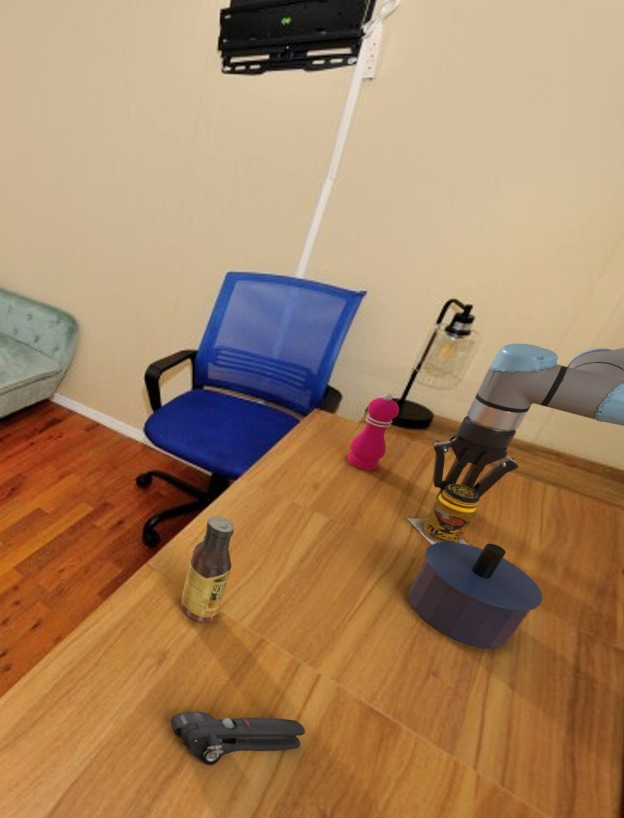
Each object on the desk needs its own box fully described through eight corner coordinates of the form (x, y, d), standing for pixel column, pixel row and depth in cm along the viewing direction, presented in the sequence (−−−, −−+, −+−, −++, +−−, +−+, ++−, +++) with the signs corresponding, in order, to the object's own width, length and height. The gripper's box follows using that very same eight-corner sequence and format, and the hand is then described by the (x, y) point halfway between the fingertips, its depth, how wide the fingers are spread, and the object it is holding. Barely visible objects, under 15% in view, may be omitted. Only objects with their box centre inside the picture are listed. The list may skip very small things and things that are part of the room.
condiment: (433, 547, 103) (457, 501, 98) (406, 518, 111) (426, 474, 105) (471, 548, 103) (498, 502, 97) (441, 520, 110) (464, 475, 105)
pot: (505, 608, 90) (531, 569, 85) (512, 664, 80) (542, 624, 76) (409, 572, 97) (429, 534, 93) (406, 619, 88) (427, 580, 84)
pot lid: (533, 571, 86) (552, 542, 83) (545, 631, 76) (567, 600, 73) (424, 534, 94) (438, 507, 91) (422, 583, 84) (438, 554, 81)
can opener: (182, 772, 68) (189, 749, 65) (165, 719, 74) (171, 695, 71) (314, 770, 68) (326, 747, 65) (286, 717, 74) (296, 694, 71)
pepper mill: (374, 474, 125) (403, 404, 116) (341, 462, 130) (366, 393, 120) (382, 463, 129) (411, 394, 120) (350, 451, 134) (375, 384, 125)
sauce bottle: (209, 631, 87) (233, 545, 78) (174, 611, 90) (193, 526, 81) (222, 607, 91) (247, 523, 82) (189, 589, 95) (208, 506, 86)
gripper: (532, 423, 97) (478, 517, 108) (445, 405, 103) (402, 495, 114) (542, 441, 91) (484, 538, 102) (449, 421, 98) (403, 514, 109)
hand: (441, 515), depth 108 cm, fingers closed
